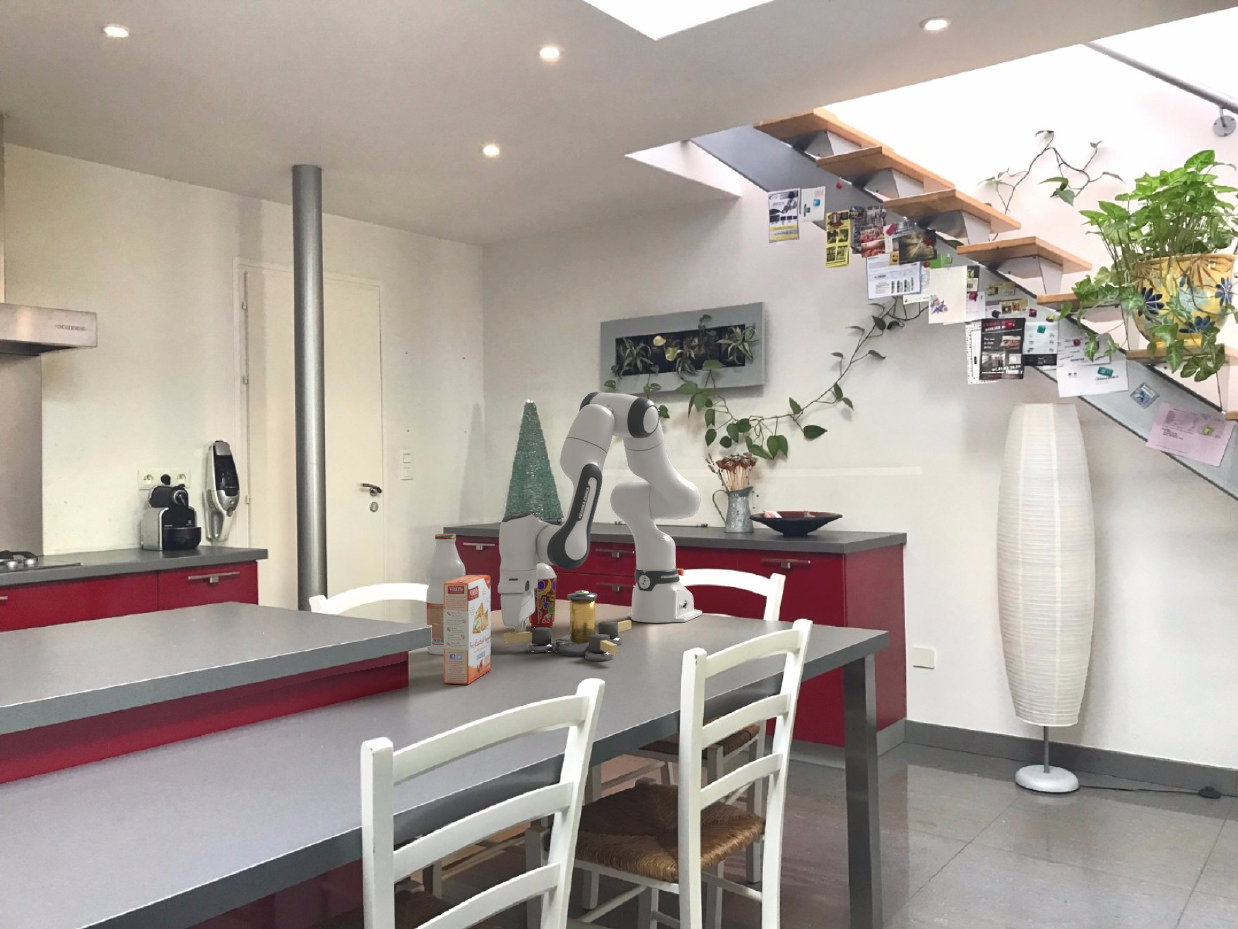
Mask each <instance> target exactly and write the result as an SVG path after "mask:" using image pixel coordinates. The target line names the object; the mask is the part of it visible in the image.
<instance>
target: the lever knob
mask: <svg viewBox="0 0 1238 929" xmlns="http://www.w3.org/2000/svg"><path fill="white" fill-rule="evenodd" d="M597 625H598V627H597V628H598V633H597V634H606V635H609V636H610V638H614V637H618V636H619V633H620V632H623V631H627V630H631V629H632V620H629V619H626V620H622V621H618V622H617V621H611V620H610V621H609V620H607V621H600V622H598V623H597Z"/></svg>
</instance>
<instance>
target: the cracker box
mask: <svg viewBox="0 0 1238 929" xmlns="http://www.w3.org/2000/svg"><path fill="white" fill-rule="evenodd" d="M491 580H492V578H491V575H489V574H488V575H487V574H465V576H463V577H460V578H457V579H453V580H450V581H447V582H444V583H443V622H444V655H443V684H452V685H470V684H471V683H473V682H474V681H476V680H478V679H479V678H480V676H481V677H482V676H484V675H485V674H487V673H488V671H489V672H490V671H491V668H492V666H491V664H492V663H491V652H492V651H491V648H492V646H491V644H492V643H491V640H492V639H491V637H492V636H491V633H492V632H491V630H492V628H491V624H492V622H491V591H492V589H491ZM486 672H487V673H486ZM483 674H484V675H483Z"/></svg>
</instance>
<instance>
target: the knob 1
mask: <svg viewBox="0 0 1238 929" xmlns="http://www.w3.org/2000/svg"><path fill="white" fill-rule="evenodd" d="M503 642H504V643H518V642H519V643H520V642H521V643H522V642H530V643H532V644H549V643H551V642H552V627H549V628H548V627H538V628H533V627H531V629H530V631H525V632H515V631H514V632H504V633H503Z"/></svg>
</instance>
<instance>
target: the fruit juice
mask: <svg viewBox="0 0 1238 929" xmlns="http://www.w3.org/2000/svg"><path fill="white" fill-rule="evenodd" d="M434 539H435V540H434V541H435V543H436V545H435V548H434V552H433V555H432V558H431V560H430V562H429V563H428V565H427V568H426V577H427V580H428V587H427V589H426V596H425V598H426V600H425V601H426V626H427V625H432V645H431V646H430V647H426V648H427V649H426V650H427V652H428V653H429V654H431V655H438V656H439V655H441V656H444V622H443V583H444V582H447V581H450V580H453V579H457V578H460V577H463V576H466V567H465V564H464V562H463V561H462V559H461V558H460V555H459V551H458V549H457V546H456V540H457V534H456V533H435V535H434Z"/></svg>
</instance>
